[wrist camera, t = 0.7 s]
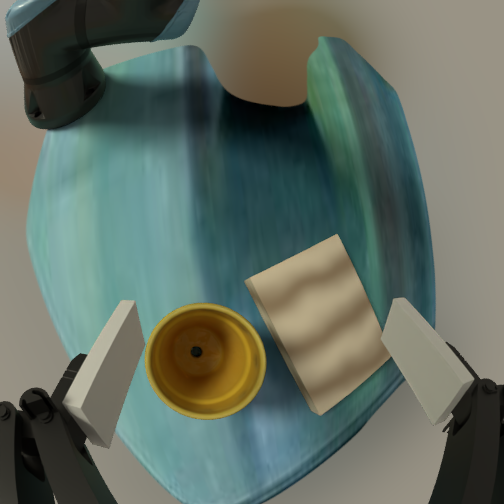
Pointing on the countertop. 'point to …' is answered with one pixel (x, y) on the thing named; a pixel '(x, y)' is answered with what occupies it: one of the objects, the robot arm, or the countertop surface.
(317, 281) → the birch stand
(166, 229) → the countertop surface
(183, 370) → the plant pot
